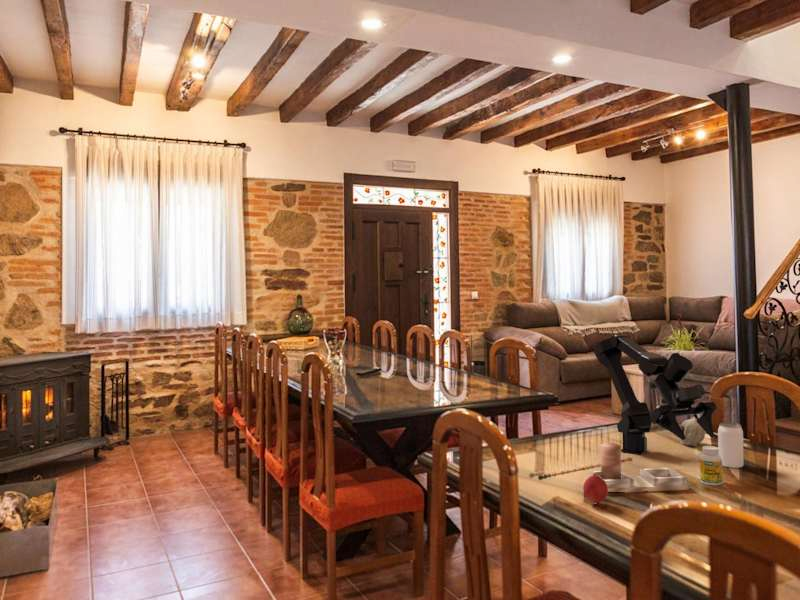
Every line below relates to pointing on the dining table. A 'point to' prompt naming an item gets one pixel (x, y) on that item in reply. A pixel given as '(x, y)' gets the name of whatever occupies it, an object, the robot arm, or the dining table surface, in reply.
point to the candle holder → (645, 482)
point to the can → (730, 445)
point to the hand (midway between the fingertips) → (698, 437)
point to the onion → (595, 488)
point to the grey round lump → (692, 432)
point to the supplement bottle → (711, 466)
